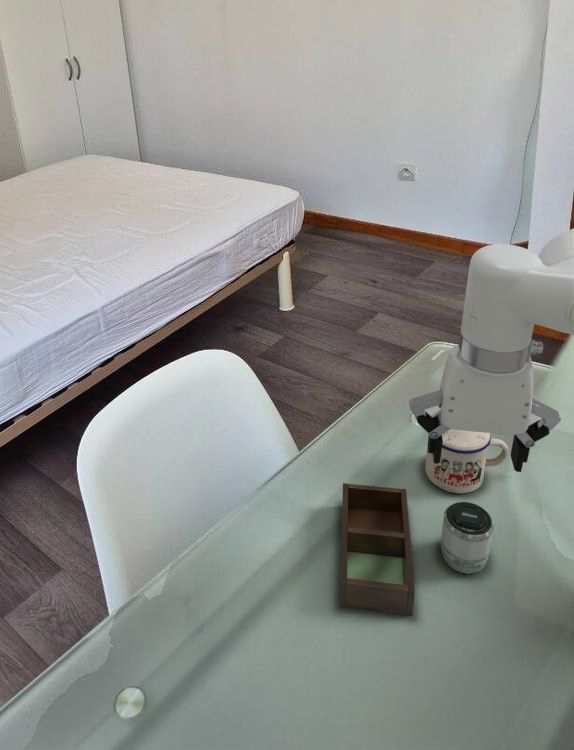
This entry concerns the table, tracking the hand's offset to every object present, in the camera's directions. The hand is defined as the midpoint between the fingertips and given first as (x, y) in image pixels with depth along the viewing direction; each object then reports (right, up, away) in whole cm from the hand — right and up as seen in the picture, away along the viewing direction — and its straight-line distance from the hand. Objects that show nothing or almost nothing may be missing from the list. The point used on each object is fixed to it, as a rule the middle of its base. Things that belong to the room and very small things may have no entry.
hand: (475, 460), depth 88 cm
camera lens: (+1, -16, +7) cm, 17 cm away
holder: (-11, -16, +8) cm, 21 cm away
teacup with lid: (+6, -8, +21) cm, 23 cm away
